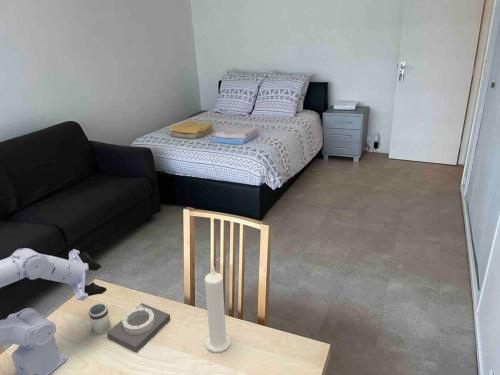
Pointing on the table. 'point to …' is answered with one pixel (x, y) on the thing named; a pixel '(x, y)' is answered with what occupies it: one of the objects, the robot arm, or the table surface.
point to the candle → (216, 313)
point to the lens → (99, 318)
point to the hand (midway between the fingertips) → (101, 279)
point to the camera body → (138, 327)
